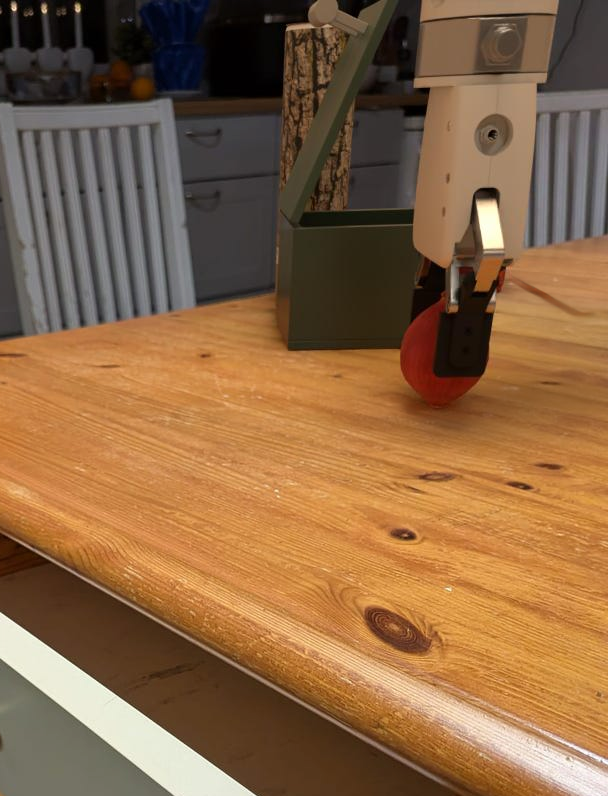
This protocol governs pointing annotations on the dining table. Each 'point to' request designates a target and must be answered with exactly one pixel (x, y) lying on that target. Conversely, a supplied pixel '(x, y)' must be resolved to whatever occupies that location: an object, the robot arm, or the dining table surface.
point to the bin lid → (334, 95)
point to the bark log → (313, 112)
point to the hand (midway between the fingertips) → (443, 359)
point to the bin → (346, 278)
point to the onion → (429, 360)
